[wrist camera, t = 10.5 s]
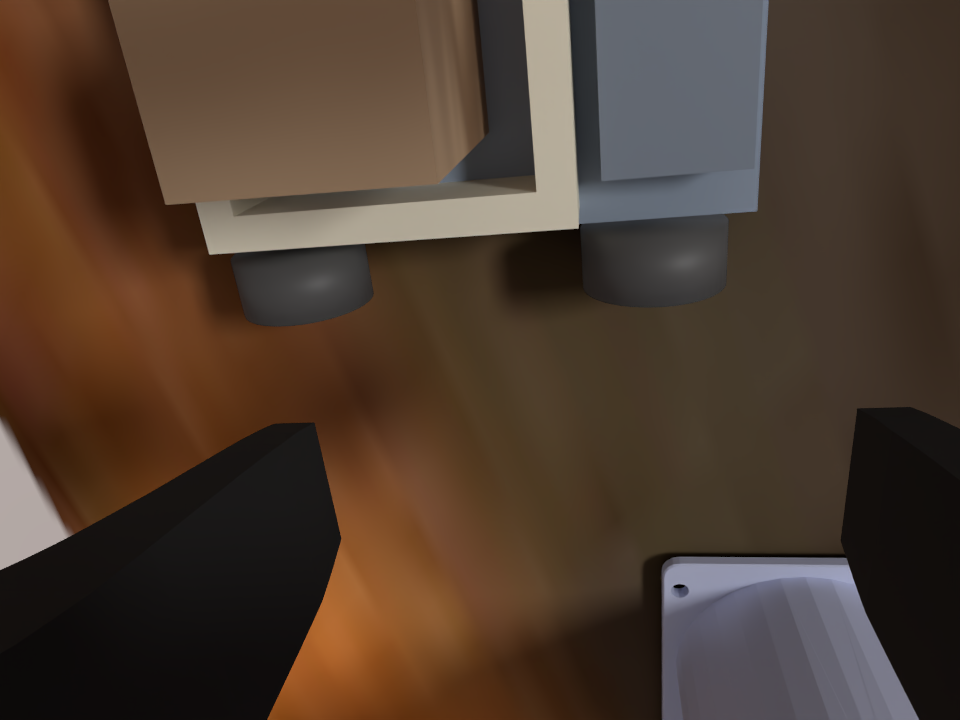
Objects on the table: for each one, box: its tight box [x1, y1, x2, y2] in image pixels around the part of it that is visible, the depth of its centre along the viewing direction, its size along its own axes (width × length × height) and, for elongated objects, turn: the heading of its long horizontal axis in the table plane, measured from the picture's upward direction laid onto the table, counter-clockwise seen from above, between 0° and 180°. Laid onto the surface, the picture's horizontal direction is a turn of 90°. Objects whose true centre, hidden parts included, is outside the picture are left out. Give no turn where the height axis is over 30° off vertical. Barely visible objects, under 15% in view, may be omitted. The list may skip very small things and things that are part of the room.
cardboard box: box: [108, 0, 489, 205], centre depth 13 cm, size 4×4×6 cm
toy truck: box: [195, 0, 768, 326], centre depth 15 cm, size 12×13×3 cm
